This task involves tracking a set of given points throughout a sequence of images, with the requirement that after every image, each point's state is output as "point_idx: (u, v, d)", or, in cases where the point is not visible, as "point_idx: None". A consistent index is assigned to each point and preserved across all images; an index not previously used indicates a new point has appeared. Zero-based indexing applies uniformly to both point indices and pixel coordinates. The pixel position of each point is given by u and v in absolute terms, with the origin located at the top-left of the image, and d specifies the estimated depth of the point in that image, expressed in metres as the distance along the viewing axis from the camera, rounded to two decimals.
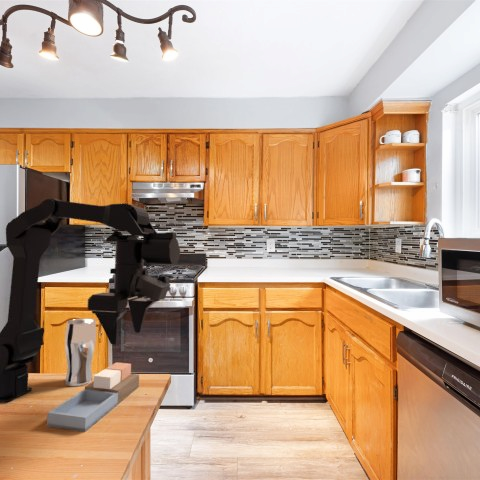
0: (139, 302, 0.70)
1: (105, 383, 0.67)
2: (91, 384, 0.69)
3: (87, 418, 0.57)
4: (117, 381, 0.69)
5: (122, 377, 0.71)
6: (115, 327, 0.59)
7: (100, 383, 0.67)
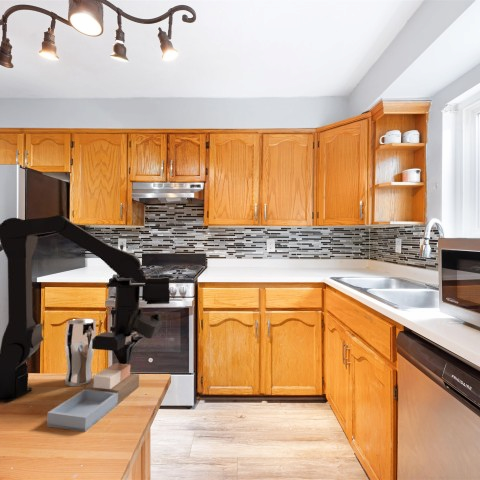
0: None
1: (105, 383, 0.67)
2: (91, 384, 0.69)
3: (87, 418, 0.57)
4: (117, 381, 0.69)
5: (121, 378, 0.71)
6: (125, 355, 0.75)
7: (100, 383, 0.67)
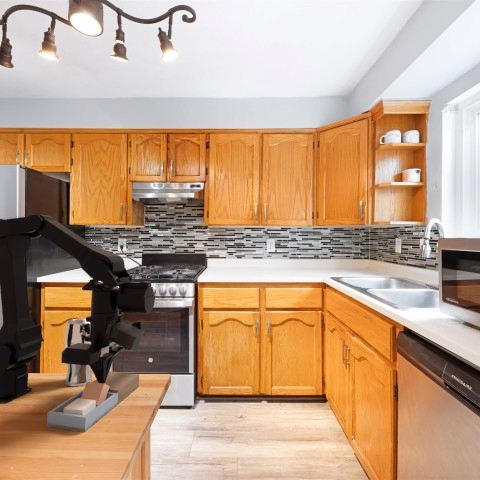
0: None
1: None
2: None
3: (87, 418, 0.57)
4: (86, 409, 0.59)
5: None
6: (102, 369, 0.66)
7: None
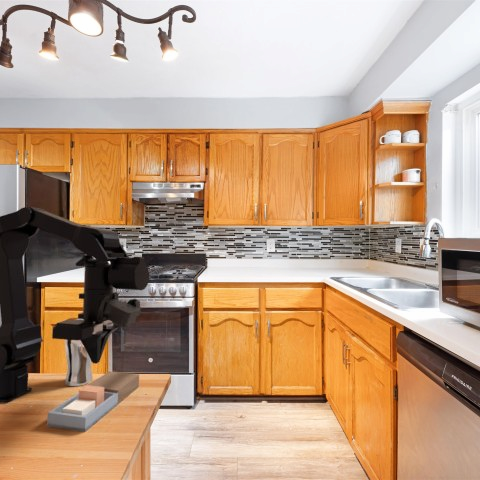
0: None
1: None
2: (91, 384, 0.69)
3: (87, 418, 0.57)
4: (86, 410, 0.59)
5: None
6: (96, 347, 0.63)
7: None
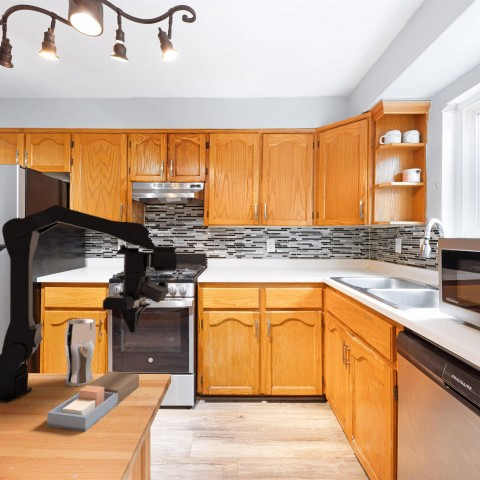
0: None
1: None
2: (91, 384, 0.69)
3: (87, 418, 0.57)
4: (86, 410, 0.59)
5: None
6: (134, 319, 0.78)
7: None
